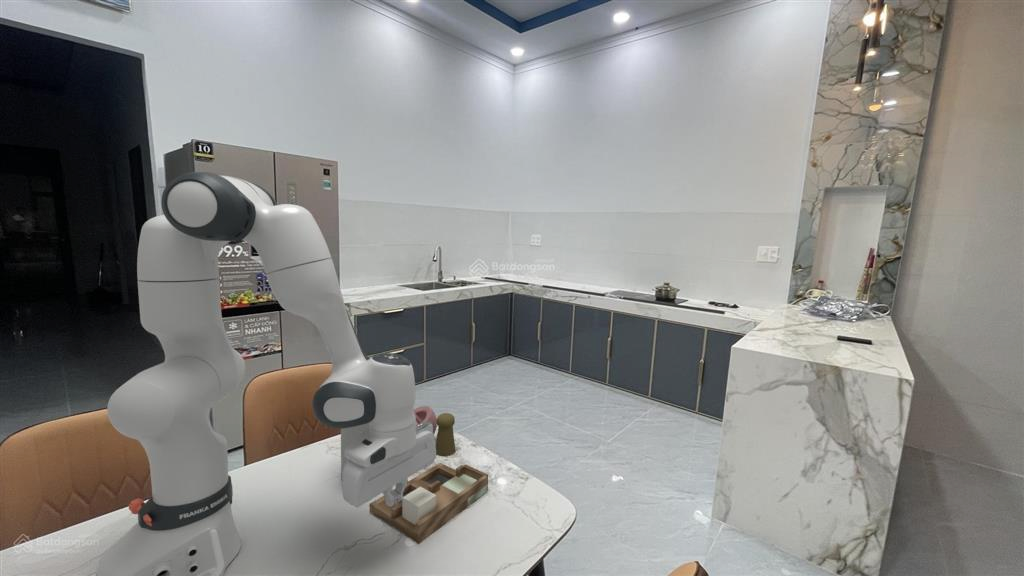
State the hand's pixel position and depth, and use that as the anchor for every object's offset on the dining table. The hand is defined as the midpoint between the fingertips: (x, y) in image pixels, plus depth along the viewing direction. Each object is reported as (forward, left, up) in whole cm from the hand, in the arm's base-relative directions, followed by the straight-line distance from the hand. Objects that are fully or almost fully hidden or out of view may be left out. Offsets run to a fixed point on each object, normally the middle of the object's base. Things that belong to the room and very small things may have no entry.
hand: (394, 502), depth 81 cm
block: (+7, +1, -7) cm, 10 cm away
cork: (+33, +18, -9) cm, 39 cm away
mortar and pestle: (+31, +28, -9) cm, 43 cm away
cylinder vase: (+11, +24, -9) cm, 28 cm away
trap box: (+14, +4, -9) cm, 18 cm away
